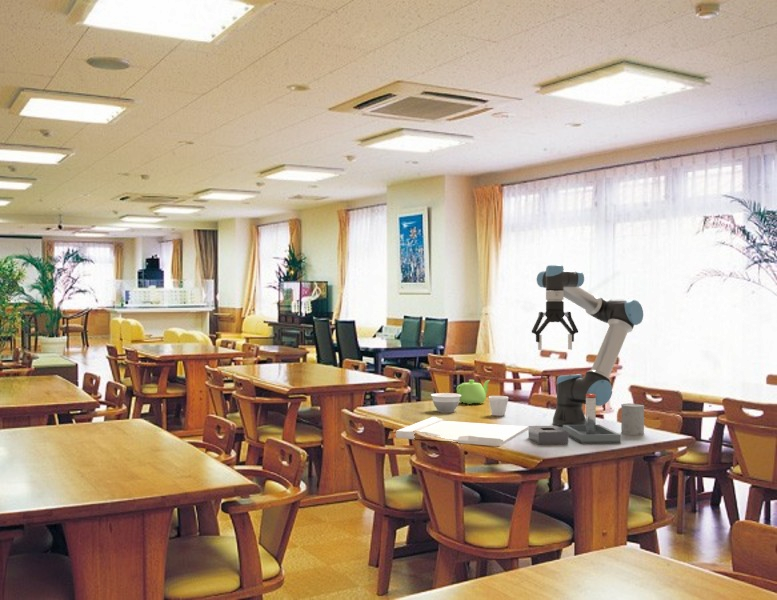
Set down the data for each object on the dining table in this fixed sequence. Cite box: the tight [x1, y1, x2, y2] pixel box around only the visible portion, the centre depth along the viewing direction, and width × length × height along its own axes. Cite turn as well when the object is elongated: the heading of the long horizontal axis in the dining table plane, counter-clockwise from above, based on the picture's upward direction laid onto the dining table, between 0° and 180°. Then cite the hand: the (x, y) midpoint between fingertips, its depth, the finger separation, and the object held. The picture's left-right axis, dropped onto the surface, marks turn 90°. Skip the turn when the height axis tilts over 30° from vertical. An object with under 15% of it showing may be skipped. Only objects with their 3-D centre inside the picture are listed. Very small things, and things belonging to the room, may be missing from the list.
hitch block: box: [528, 425, 569, 446], centre depth 326 cm, size 16×12×5 cm
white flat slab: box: [395, 416, 529, 447], centre depth 345 cm, size 45×45×4 cm
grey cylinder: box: [620, 403, 645, 436], centre depth 346 cm, size 10×10×12 cm
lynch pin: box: [585, 394, 597, 434], centre depth 334 cm, size 4×4×17 cm
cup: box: [488, 395, 509, 417], centre depth 398 cm, size 10×10×9 cm
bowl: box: [430, 392, 461, 414], centre depth 412 cm, size 16×16×9 cm
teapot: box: [456, 379, 491, 405], centre depth 444 cm, size 22×15×13 cm
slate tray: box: [562, 424, 622, 445], centre depth 334 cm, size 26×16×4 cm, turn 4°
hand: (554, 349), depth 346 cm, fingers open, 13 cm apart
